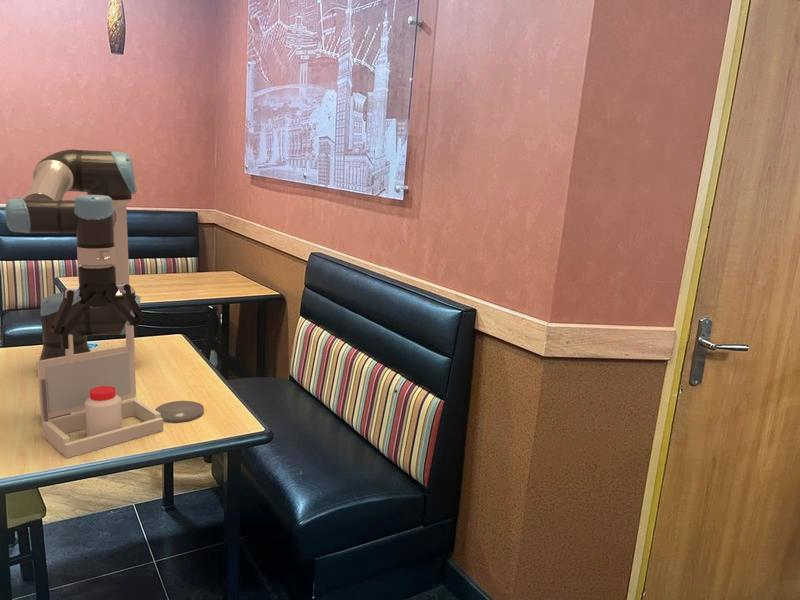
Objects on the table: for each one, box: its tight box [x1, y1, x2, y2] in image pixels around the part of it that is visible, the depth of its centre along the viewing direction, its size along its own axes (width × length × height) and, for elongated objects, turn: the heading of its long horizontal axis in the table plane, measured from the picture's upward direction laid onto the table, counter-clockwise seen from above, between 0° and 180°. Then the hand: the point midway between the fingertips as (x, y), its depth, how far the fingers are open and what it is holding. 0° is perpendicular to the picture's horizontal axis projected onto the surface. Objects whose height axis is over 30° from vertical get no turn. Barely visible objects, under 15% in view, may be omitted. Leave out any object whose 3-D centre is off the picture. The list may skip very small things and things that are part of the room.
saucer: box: [154, 400, 205, 424], centre depth 163 cm, size 12×12×1 cm
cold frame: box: [36, 344, 164, 459], centre depth 147 cm, size 15×22×18 cm
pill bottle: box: [84, 386, 124, 438], centre depth 148 cm, size 8×8×11 cm
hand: (101, 356), depth 145 cm, fingers open, 13 cm apart
